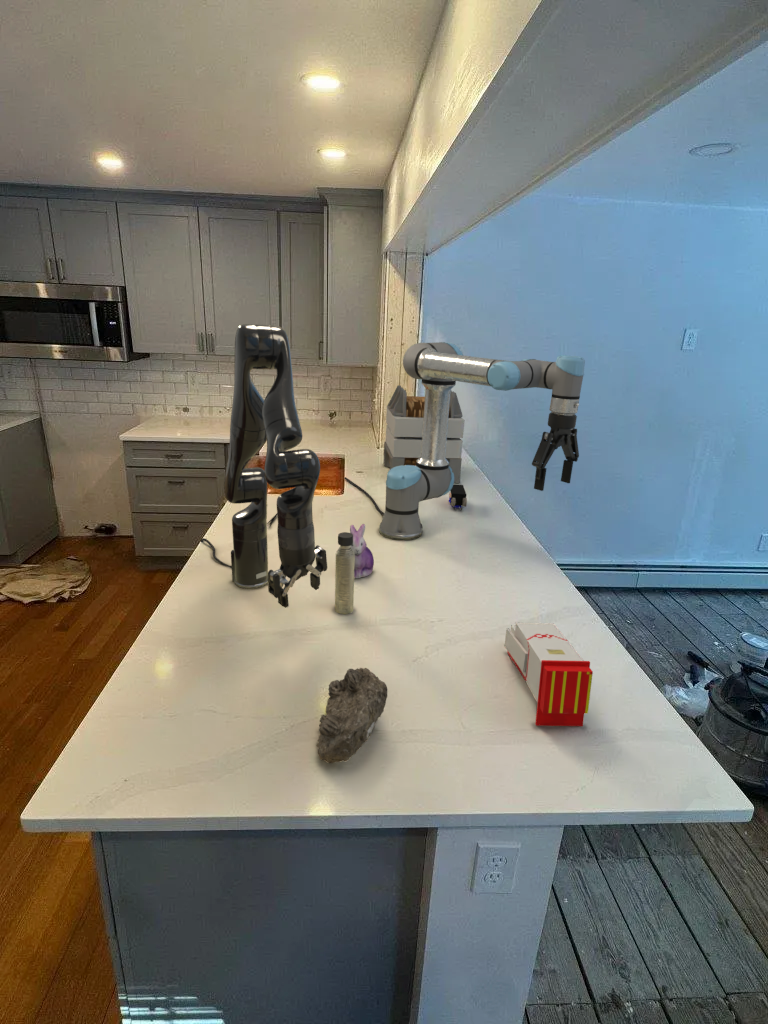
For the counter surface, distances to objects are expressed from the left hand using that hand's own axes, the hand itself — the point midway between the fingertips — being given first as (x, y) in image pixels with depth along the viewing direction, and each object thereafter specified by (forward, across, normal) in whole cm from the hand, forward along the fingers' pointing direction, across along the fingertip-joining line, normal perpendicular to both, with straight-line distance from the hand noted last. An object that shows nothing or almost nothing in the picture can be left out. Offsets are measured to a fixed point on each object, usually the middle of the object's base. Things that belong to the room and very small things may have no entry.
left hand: (299, 596), depth 127 cm
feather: (+34, -43, -71) cm, 90 cm away
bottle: (+17, -16, -4) cm, 24 cm away
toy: (+11, -28, +47) cm, 55 cm away
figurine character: (+38, -105, -34) cm, 117 cm away
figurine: (+23, -34, -17) cm, 44 cm away
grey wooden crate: (+50, -129, -75) cm, 157 cm away
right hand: (-3, -81, +15) cm, 83 cm away
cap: (-3, -20, -7) cm, 22 cm away
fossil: (+7, +11, +29) cm, 32 cm away
